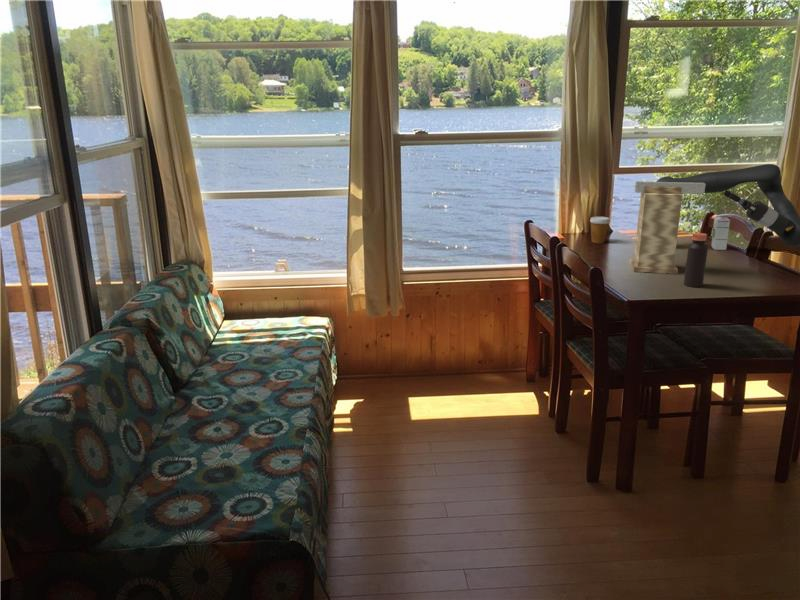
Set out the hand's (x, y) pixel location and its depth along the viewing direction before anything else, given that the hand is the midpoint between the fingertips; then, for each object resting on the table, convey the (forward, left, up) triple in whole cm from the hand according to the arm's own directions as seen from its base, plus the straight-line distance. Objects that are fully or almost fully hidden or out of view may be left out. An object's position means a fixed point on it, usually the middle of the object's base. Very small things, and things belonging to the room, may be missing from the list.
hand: (727, 193), depth 267 cm
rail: (-14, -19, 0) cm, 23 cm away
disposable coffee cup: (-64, +1, -32) cm, 71 cm away
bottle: (+8, -29, -32) cm, 44 cm away
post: (-16, -21, -32) cm, 41 cm away
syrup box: (-22, +36, -32) cm, 52 cm away
